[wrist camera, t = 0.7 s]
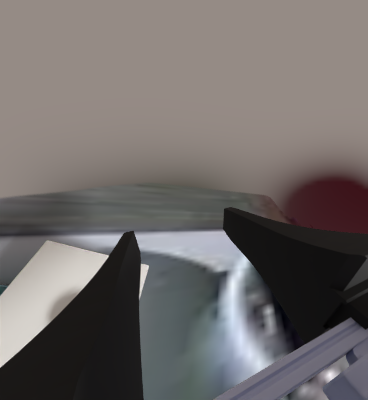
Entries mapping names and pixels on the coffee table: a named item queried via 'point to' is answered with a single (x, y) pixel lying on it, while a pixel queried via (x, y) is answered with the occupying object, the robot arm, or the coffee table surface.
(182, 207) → the coffee table surface
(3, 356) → the housing
